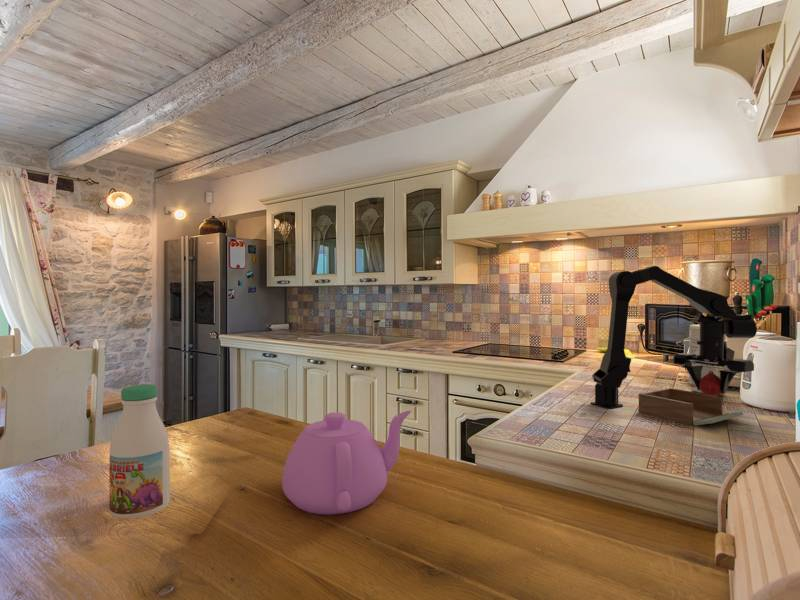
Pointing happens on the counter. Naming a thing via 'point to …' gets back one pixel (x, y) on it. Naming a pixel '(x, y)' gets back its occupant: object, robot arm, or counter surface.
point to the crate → (680, 405)
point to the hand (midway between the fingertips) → (711, 392)
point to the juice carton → (695, 349)
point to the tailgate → (718, 418)
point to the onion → (710, 384)
